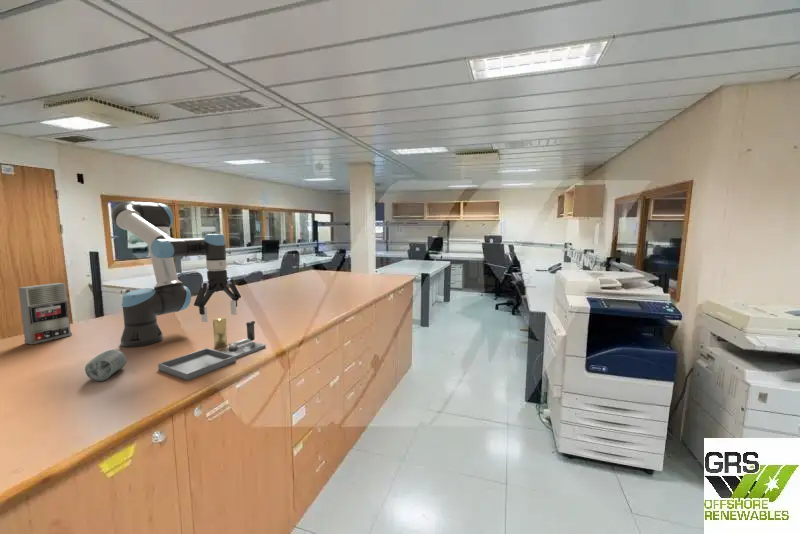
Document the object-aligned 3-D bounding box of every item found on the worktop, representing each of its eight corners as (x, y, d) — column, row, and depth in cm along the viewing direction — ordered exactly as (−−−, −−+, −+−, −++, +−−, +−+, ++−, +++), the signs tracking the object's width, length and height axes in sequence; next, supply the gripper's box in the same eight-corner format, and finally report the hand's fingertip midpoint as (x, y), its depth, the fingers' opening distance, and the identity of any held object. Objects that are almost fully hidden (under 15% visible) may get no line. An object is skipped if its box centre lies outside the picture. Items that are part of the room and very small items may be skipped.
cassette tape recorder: (32, 345, 146) (25, 288, 143) (24, 343, 148) (17, 287, 145) (72, 335, 159) (66, 283, 156) (64, 334, 161) (59, 282, 158)
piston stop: (211, 346, 147) (210, 319, 146) (222, 342, 152) (221, 317, 150) (219, 348, 145) (217, 321, 144) (229, 344, 150) (228, 318, 148)
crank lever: (232, 350, 139) (231, 328, 138) (227, 348, 141) (225, 327, 140) (257, 341, 151) (257, 321, 150) (253, 339, 152) (252, 320, 151)
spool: (112, 374, 111) (99, 347, 112) (83, 389, 110) (70, 362, 110) (139, 367, 125) (127, 343, 125) (113, 380, 123) (101, 356, 124)
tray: (158, 370, 122) (158, 363, 122) (207, 353, 139) (207, 347, 139) (187, 381, 114) (186, 374, 114) (235, 362, 131) (235, 355, 131)
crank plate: (213, 354, 138) (213, 351, 138) (247, 342, 152) (247, 339, 152) (232, 360, 133) (232, 356, 133) (265, 347, 147) (265, 344, 147)
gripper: (193, 273, 132) (196, 326, 134) (247, 267, 154) (250, 312, 156) (181, 272, 135) (185, 323, 138) (236, 266, 157) (239, 310, 159)
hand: (219, 318), depth 147 cm, fingers open, 13 cm apart
